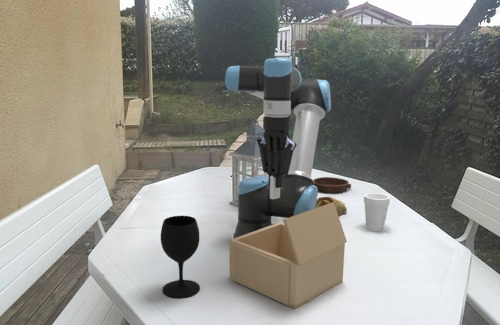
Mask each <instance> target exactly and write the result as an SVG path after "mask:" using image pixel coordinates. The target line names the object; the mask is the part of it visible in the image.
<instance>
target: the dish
mask: <svg viewBox="0 0 500 325" xmlns="http://www.w3.org/2000/svg"><path fill="white" fill-rule="evenodd" d="M313 181H314V186H316V187H317V189H318V192H321V193H324V192H325V194H326V193H327V194H338V193H339V192H340V193H342V192H345V191H346V190H347V189H351V188H352V184H351V183H350V182H349V181H348V180H347V179H345V178H340V177H339V178H338V177H330V176H329V177H328V176H324V177H317V178H314V179H313ZM340 193H339V194H340Z"/></svg>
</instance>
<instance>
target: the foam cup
mask: <svg viewBox="0 0 500 325" xmlns="http://www.w3.org/2000/svg"><path fill="white" fill-rule="evenodd" d="M390 199H391V197H390V196H389V195H387V194H385V193H379V192H378V193H376V192H370V193H365V194H364V195H363V203H364V214H365V226H366V227H365V228H366V230H367V231H370V232H373V233H376V232H377V233H380V232H382V231H384V229H385V228H384V227H385V223H386V218H387V213H388V209H389V205H390Z"/></svg>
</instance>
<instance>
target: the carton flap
mask: <svg viewBox="0 0 500 325" xmlns="http://www.w3.org/2000/svg"><path fill="white" fill-rule="evenodd" d="M283 223H284V224H285V227H286V230H287V234H288V237H289V240H290V243H291V246H292V250H293V253H294V256H295V259H296V262H297V265H300V264H302V263H304V262H306V261H309V260H311V259H313V258H315V257H317V256H319V255H321V254H323V253H325V252H327V251H329V250H332V249H334V248H336V247H338V246H340V245H342V244H344V243H345V244H346V243H347V238H346V235H345V231H344V229H343V226H342V223H341V220H340V216H338V213H337V210H336V207H335V204H334V202H332V203H329V204H327V205H324V206H321V207H318V208H315V209H312V210H310V211H307V212H304V213H301V214H298V215H295V216H292V217H290V218H284V219H283Z"/></svg>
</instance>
